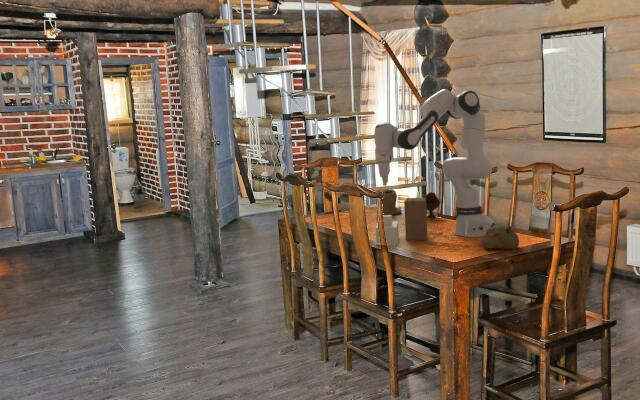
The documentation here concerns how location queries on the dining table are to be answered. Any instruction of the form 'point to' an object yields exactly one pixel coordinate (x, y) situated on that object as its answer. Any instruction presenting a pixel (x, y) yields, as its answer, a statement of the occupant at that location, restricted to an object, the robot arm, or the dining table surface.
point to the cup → (389, 230)
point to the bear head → (500, 238)
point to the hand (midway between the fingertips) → (385, 184)
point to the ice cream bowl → (431, 203)
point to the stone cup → (390, 203)
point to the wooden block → (415, 218)
